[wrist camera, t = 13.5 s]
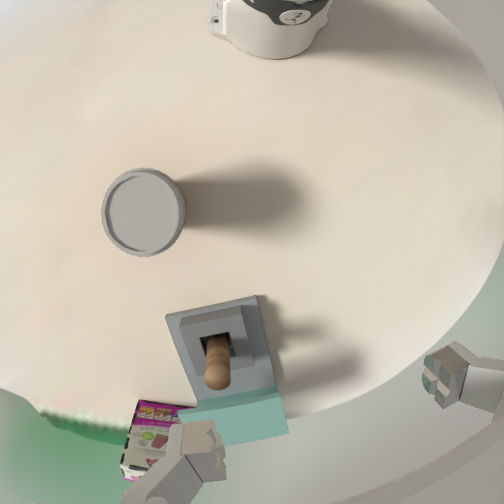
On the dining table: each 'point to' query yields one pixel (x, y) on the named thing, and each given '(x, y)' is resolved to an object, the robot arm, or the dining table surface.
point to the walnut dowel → (218, 362)
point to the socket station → (241, 369)
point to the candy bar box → (147, 437)
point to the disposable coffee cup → (143, 212)
